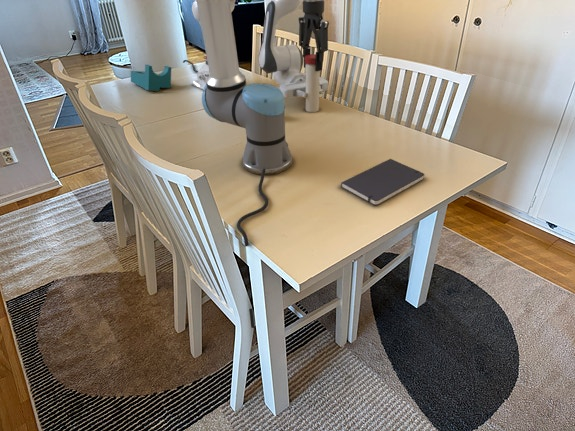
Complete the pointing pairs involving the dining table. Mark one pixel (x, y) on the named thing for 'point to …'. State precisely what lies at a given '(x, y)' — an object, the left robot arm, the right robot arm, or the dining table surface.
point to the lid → (310, 59)
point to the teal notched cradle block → (152, 78)
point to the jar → (312, 89)
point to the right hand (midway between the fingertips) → (312, 68)
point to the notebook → (382, 181)
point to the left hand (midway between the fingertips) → (313, 93)
